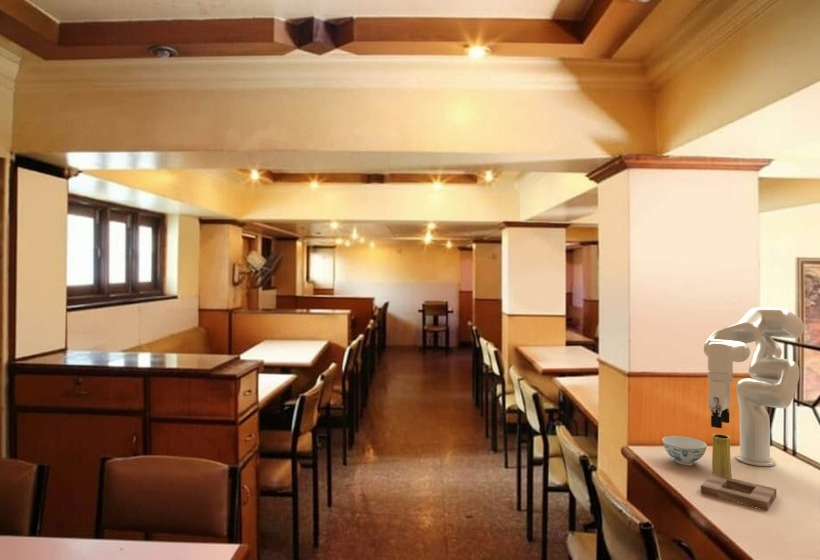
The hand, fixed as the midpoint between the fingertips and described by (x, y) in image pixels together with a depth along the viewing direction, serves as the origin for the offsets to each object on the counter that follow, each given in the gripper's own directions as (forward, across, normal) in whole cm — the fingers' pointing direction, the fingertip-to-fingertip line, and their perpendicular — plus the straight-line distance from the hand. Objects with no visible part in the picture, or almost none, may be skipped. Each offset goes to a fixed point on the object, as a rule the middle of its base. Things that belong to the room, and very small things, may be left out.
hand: (720, 424), depth 175 cm
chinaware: (+18, -7, -14) cm, 24 cm away
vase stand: (+19, +13, +8) cm, 24 cm away
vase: (+19, -1, 0) cm, 19 cm away
